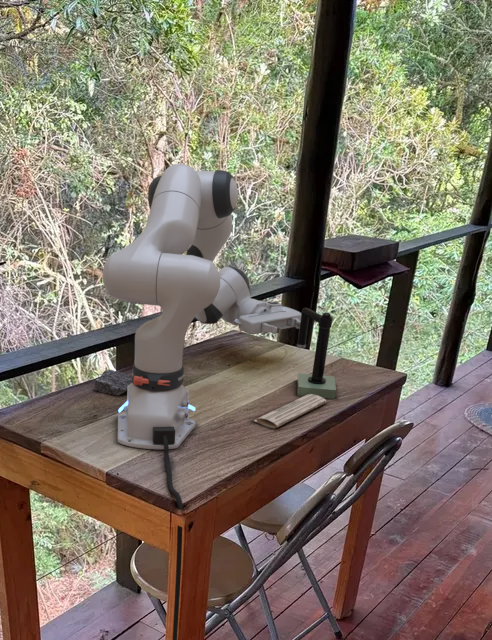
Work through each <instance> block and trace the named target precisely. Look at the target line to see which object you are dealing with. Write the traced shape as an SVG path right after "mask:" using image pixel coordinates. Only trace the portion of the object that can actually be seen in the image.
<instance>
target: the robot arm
mask: <svg viewBox="0 0 492 640" xmlns="http://www.w3.org/2000/svg"><path fill="white" fill-rule="evenodd" d="M147 190H148V191H147V201H148V202H147V203H148V206H149V213H148V217H147V221H146V224H145V227H144V229H143V230H142V232H141V233H140V234H139V236H138V237H136V238H135V240H133V241H132V242H131V243H129V244H128V245H127V246H125V247H123V248H122V249H120V250H117V251H115V252H113V253H111V254H110V255H109V256H108V257H107V259H106V260H105V262H104V265H103V269H102V282H103V287H104V288H105V291H106V292H107V294H108V295H109V297H110V298H112V299H115V300H119V301H121V302H125V303H128V304H137V305H146V306H157V307H161V308H162V311H161V312H162V313H161V315H159V316H158V317H155V318H153V319H150V320H148V321H146V322H144V323H142V324H141V325H140V326H139V327H138V328H137V329H136V332H135V334H134V362H133V364H132V369H131V377H132V383H131V384H129V385H128V386H127V391H126V401H125V402H124V403H123V404H122V405H121V406H120V407H119V408H118V413H119V414H118V415H117V443H118V444H121V445H123V446H127V447H131V448H138V449H145V450H160V451H161V450H163V455H164V456H163V457H164V465H165V469H166V470H165V471H166V483H167V488H168V491H169V492H170V494H171V495H172V496H173V497H174V498H175V500H176V505H177V509H178V510H180V511H181V510H183V509H184V505H183V500H182V497H181V495H180V493H179V492H178V491H177V490H176V489H175V488H174V485H173V474H172V467H171V463H170V454H169V453H170V451H169V450H174V449H175V450H176V449H178V448H179V447H180V445H182V443H183V442H184V441H185V439H186V438H187V437H188V436H189V435H190V434H191V432H192V431H193V430H194V429H195V427H196V421H195V420H193V419H192V418H190V413H189V412H190V411H189V410H191V411H193V412H195V411H196V407H195V406H193V405H192V404H190V391H189V390H188V389H187V388H186V387H185V385H184V384H183V383H184V377H185V367H184V365H183V357H184V347H185V341H186V340H185V339H186V335H187V331H188V329H189V327H190V326H191V323H192V322H193V320H197V321H198V322H199V323H201V324H204V325H214V324H217V323H218V322H219V321H220V320H223V321H224V322H226V323H229V324H231V325H233V326H238V330H240V331H242V332H244V333H245V334H247V335H258V334H264V333H268V334H269V333H270V334H274V335H277V334H280V331H281V330H285V329H290V328H294V329H297V330H299V329H300V321H301V314H302V312H300V311H298V310H296V309H293V308H290V307H289V306H284V305H283V303H281V302H279V301H278V302H277V301H263V300H258V299H256V298H251V293H252V292H251V287H250V286H251V285H250V281H249V280H250V279H249V278H248V276H247V274H246V273H245V272H244V271H243V270H242V269H240V268H238V267H236V266H232V265H224V266H223V268H221V269H220V270H218V267H217V266H216V265H215V263H214V261H215V259H216V258H217V256H218V254H219V252H221V250H222V249H223V247H224V246H225V245H226V244H227V242H228V240H229V238H230V236H231V235H232V234H231V233H232V230H233V229H232V228H233V217H232V214H233V213H234V212H235V210H236V209H237V204H238V200H239V199H238V197H239V190H238V184H237V182H236V179H235V176H233V175H232V174H231V172H229V171H227V170H223V169H216V170H195V169H194V168H193V167H192V166H190V165H187V164H185V163H175V164H172V165H170V166H168V167H167V168H165V170H164V171H163V173H162V174H161V175H158V176H155V177H154V178H153V179H152V181H150V183H149V185H148V189H147ZM122 411H123V413H121V412H122ZM176 530H177V531H176V562H175V563H176V564H175V586H174V587H175V588H174V605H173V606H174V607H173V623H172V640H178V632H179V615H180V600H181V599H180V597H181V579H182V578H181V577H182V558H183V557H182V552H183V527H182V526H180V525H177V529H176Z"/></svg>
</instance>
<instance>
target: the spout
mask: <svg viewBox="0 0 492 640" xmlns="http://www.w3.org/2000/svg"><path fill="white" fill-rule="evenodd" d="M310 319H311V320H312V321H314V322H317V323H318V324H317V325H318V328H319V327H321V328H330V329H331V328H332V327H333V321H334V320H333V319H334V318H333V316H332V315H331V313H329V312H323V313H322V314H320V313H318V312H316V311H314V310H312V309H310V308H308V307H303V308H302V310H301V321H300V329H298V338H297V343H296V348H299V349H306V347H307V336H308V327H309V321H310Z"/></svg>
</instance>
